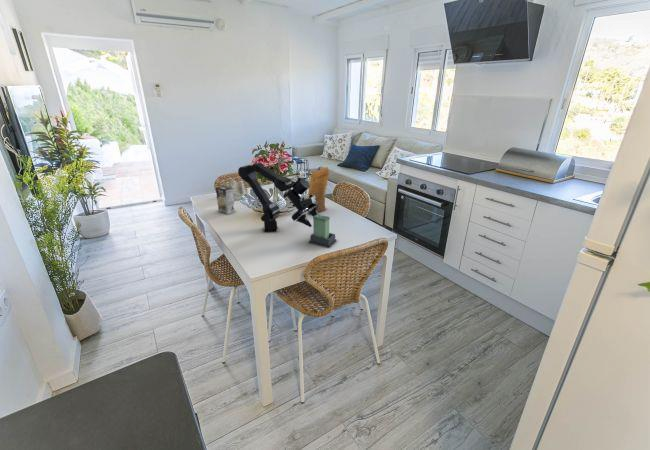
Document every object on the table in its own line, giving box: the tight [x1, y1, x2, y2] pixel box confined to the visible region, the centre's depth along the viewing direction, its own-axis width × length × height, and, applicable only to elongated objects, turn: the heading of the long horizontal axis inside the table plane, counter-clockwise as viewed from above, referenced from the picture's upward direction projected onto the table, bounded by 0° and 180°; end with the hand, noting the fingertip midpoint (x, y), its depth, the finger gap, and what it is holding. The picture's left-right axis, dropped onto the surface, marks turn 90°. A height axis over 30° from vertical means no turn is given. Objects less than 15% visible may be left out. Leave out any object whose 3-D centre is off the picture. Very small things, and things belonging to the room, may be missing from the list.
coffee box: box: [215, 184, 236, 215], centre depth 198 cm, size 9×6×16 cm
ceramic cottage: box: [225, 178, 249, 201], centre depth 226 cm, size 16×16×15 cm
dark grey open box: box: [308, 232, 337, 248], centre depth 162 cm, size 12×8×4 cm
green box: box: [312, 213, 331, 239], centre depth 160 cm, size 7×4×13 cm, turn 59°
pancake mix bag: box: [307, 166, 329, 215], centre depth 197 cm, size 7×19×28 cm, turn 139°
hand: (315, 223), depth 161 cm, fingers open, 9 cm apart
